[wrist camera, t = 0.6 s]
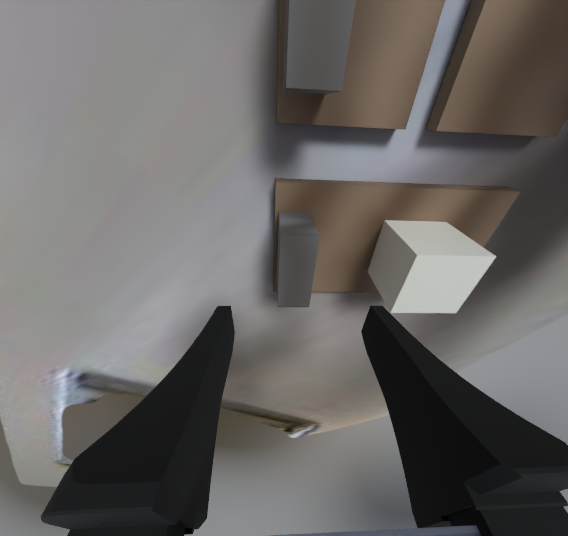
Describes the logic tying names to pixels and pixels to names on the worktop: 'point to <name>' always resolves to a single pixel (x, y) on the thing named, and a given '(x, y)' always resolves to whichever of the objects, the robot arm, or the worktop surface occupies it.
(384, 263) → the ceramic block
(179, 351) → the worktop surface
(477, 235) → the walnut strip
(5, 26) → the worktop surface
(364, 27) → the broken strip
